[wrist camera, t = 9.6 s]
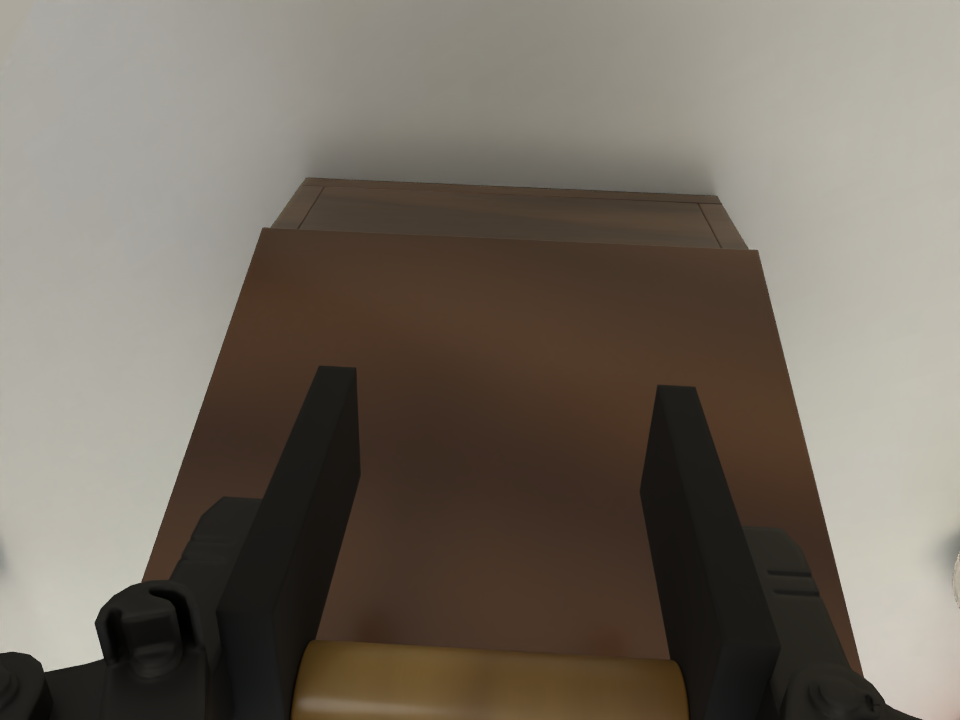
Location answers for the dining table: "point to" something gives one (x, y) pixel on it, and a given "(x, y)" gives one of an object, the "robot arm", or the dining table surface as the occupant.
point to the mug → (957, 580)
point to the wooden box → (511, 213)
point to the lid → (500, 460)
